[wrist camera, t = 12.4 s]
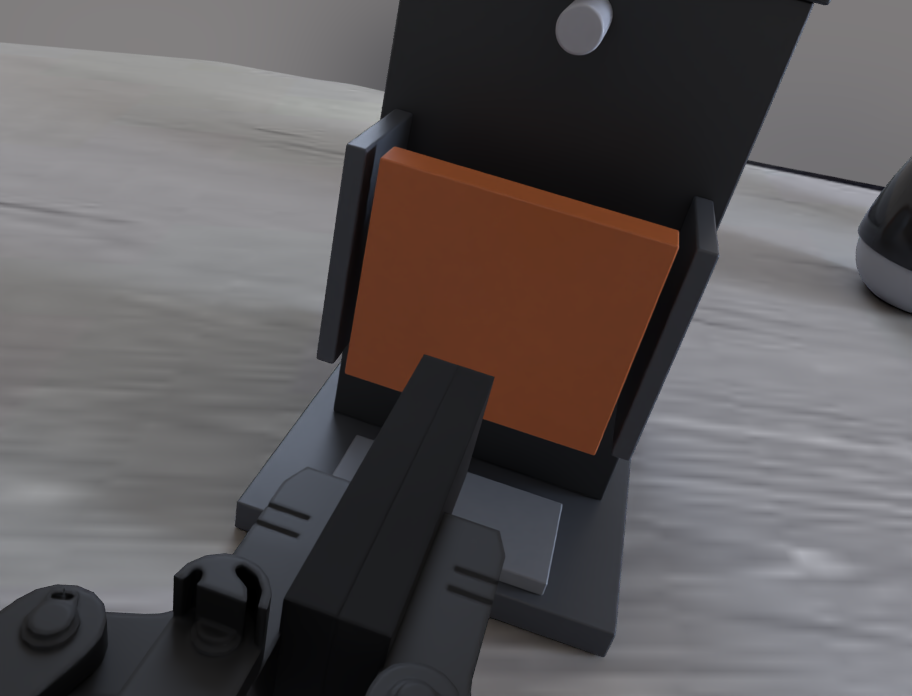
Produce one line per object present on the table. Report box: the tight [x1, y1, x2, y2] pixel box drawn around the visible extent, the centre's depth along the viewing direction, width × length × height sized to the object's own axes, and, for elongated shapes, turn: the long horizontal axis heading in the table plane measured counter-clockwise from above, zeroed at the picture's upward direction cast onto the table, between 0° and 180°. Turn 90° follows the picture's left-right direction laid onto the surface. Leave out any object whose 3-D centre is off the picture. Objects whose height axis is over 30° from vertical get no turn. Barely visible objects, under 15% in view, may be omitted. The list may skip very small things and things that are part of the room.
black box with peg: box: [235, 0, 831, 657], centre depth 27 cm, size 15×13×21 cm
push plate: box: [345, 147, 679, 455], centre depth 22 cm, size 1×8×7 cm, turn 76°
